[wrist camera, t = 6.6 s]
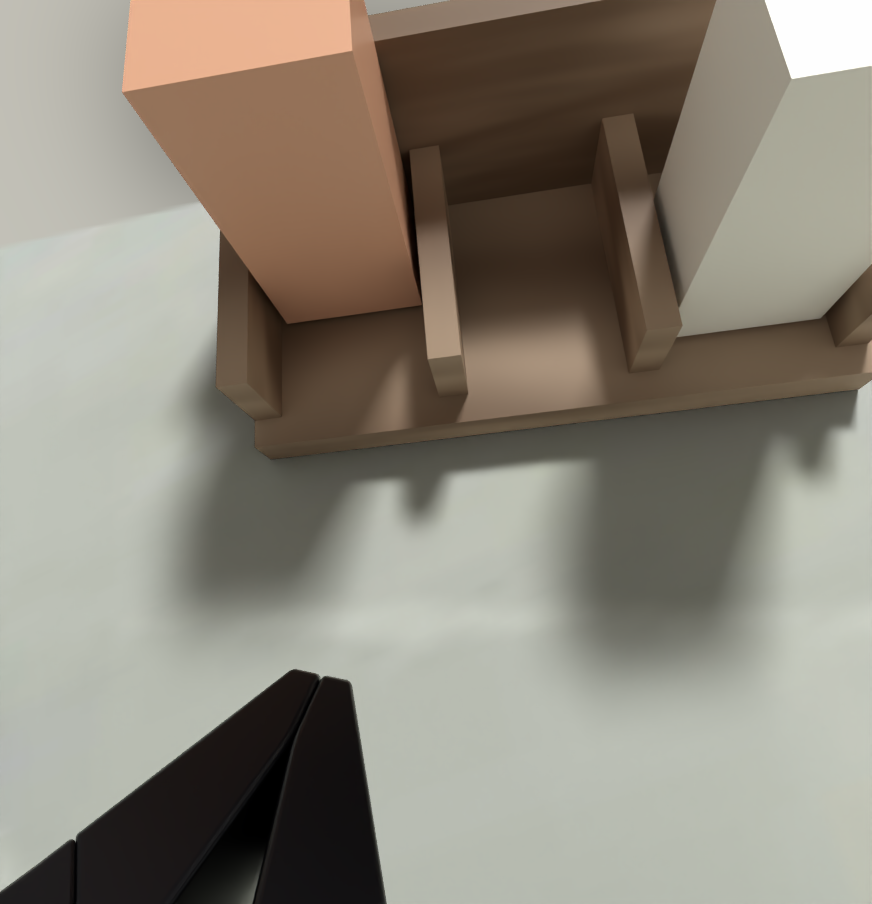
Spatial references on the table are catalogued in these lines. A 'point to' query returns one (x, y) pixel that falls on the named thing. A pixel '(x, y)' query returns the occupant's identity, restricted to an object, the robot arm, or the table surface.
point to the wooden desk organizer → (524, 248)
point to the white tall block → (771, 165)
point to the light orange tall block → (283, 144)
